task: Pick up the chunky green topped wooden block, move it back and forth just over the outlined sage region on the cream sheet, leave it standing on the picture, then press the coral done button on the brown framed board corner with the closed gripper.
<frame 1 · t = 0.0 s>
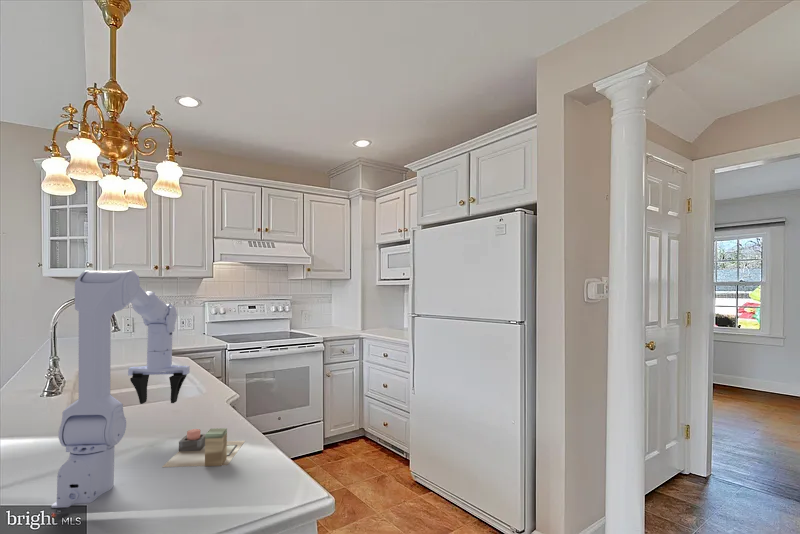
hand: (158, 402, 114), 10 cm above the counter, fingers open, 7 cm apart
done button: (193, 436, 108), point 3 cm above the counter, slide at 0.0 cm
brown framed board: (206, 455, 104), on the counter
green topped wooden block: (215, 462, 98), point 1 cm above the counter, touching brown framed board
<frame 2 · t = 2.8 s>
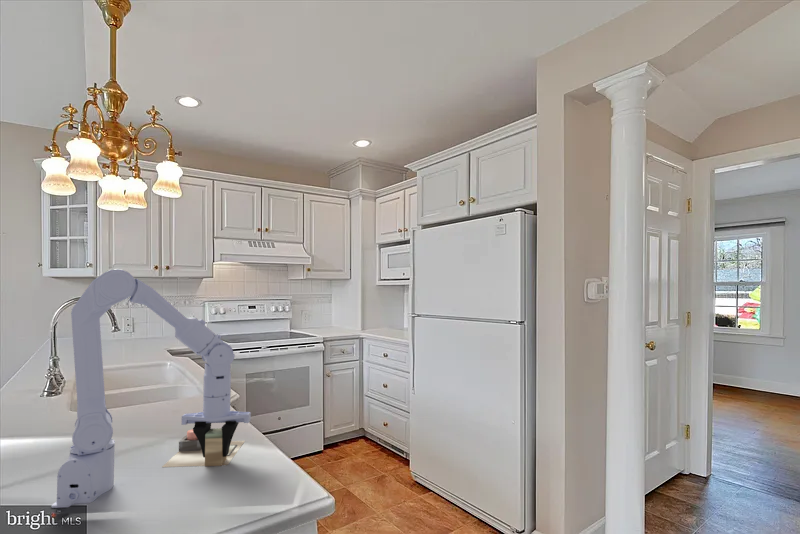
hand: (216, 455, 98), 2 cm above the counter, fingers closed on green topped wooden block, 4 cm apart
green topped wooden block: (215, 462, 98), point 1 cm above the counter, touching brown framed board, gripper
everything else where it was.
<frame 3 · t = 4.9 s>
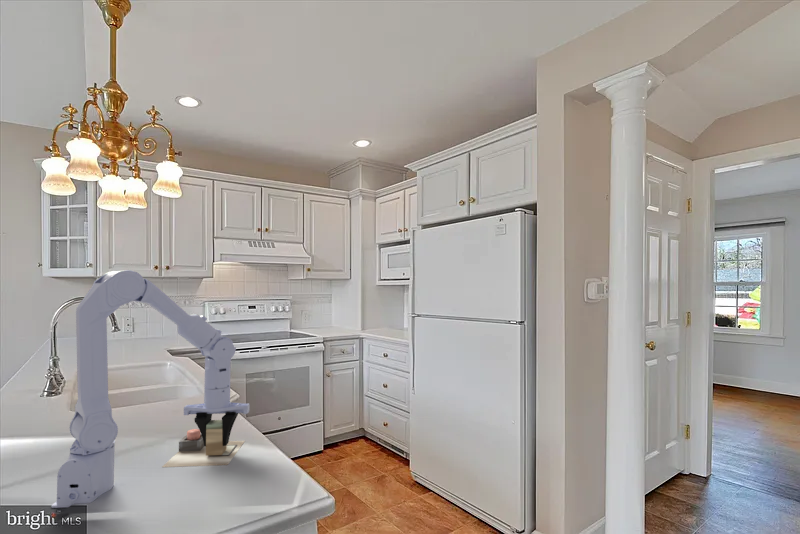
hand: (216, 444, 103), 3 cm above the counter, fingers closed on green topped wooden block, 4 cm apart
green topped wooden block: (216, 452, 103), point 1 cm above the counter, touching gripper
everything else where it was.
when the fingers open (3 cm above the counter, at t = 7.2 s): green topped wooden block stays where it is, resting on brown framed board.
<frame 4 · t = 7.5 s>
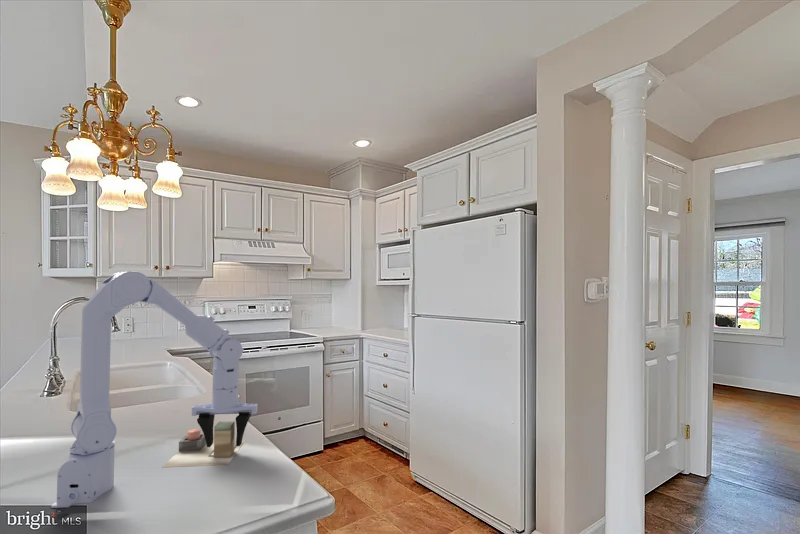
hand: (224, 445, 103), 3 cm above the counter, fingers open, 6 cm apart
green topped wooden block: (224, 454, 103), point 1 cm above the counter, touching brown framed board
everything else where it was.
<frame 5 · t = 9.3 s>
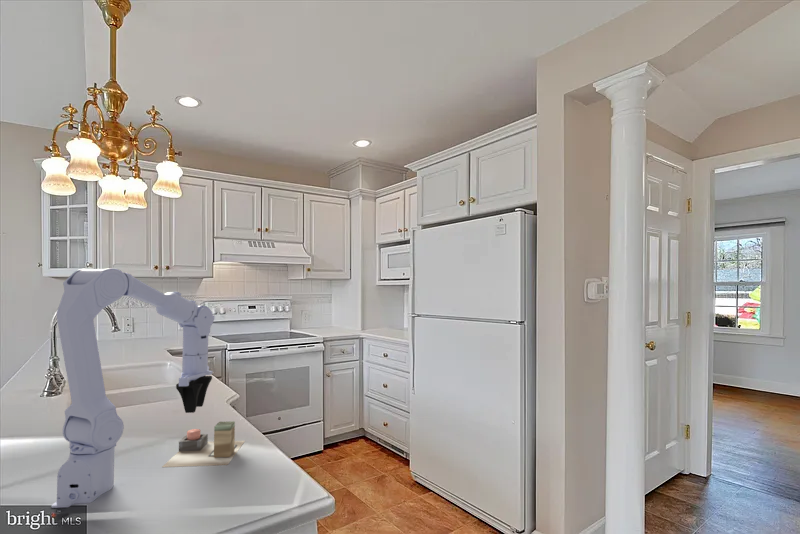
hand: (194, 409, 108), 10 cm above the counter, fingers open, 4 cm apart
nothing on the counter moved.
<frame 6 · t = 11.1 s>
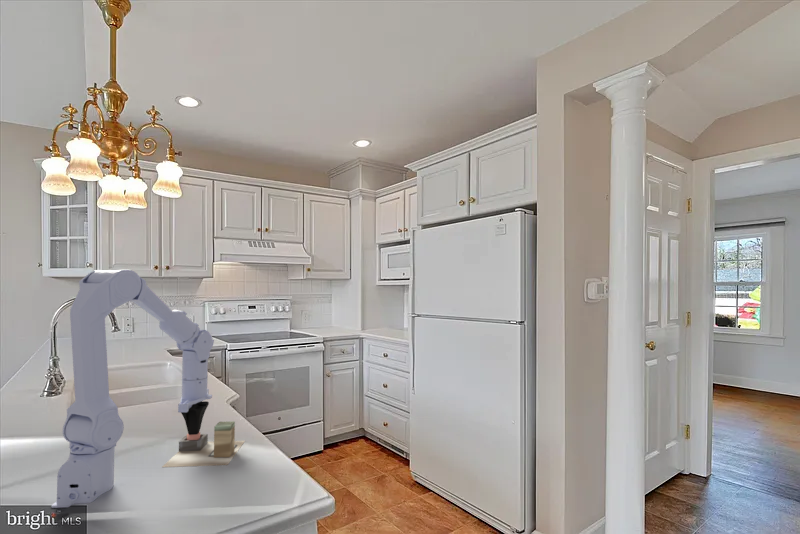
hand: (193, 433, 108), 4 cm above the counter, fingers closed, pressing on done button
done button: (193, 438, 108), point 3 cm above the counter, slide at 0.6 cm, touching gripper
everything else where it was.
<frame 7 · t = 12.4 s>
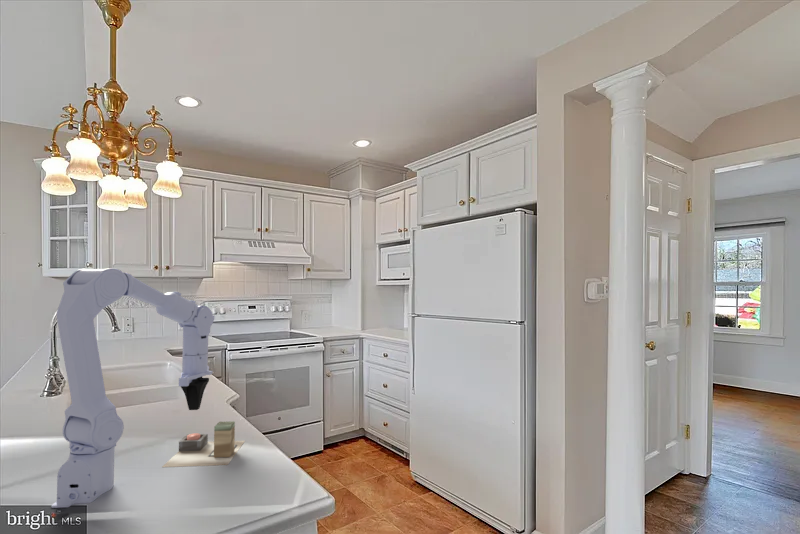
hand: (194, 409, 108), 10 cm above the counter, fingers closed
done button: (193, 440, 108), point 2 cm above the counter, slide at 1.0 cm
everything else where it was.
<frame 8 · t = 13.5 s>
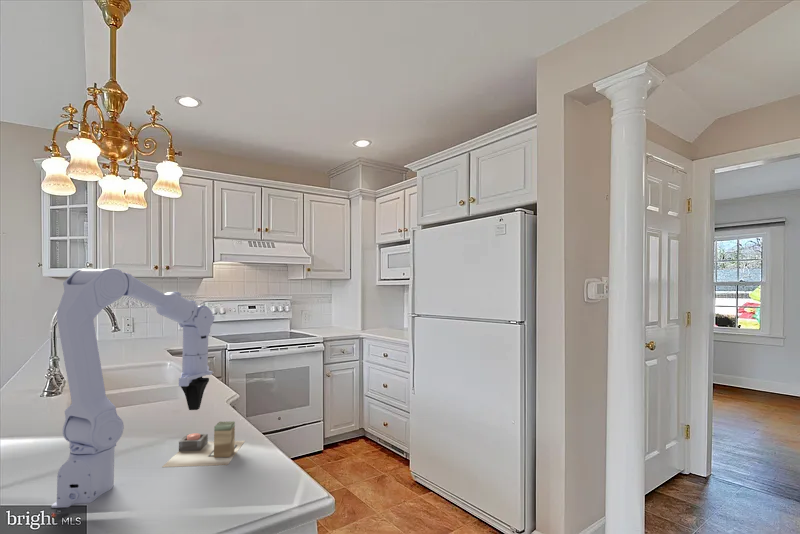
hand: (194, 409, 108), 10 cm above the counter, fingers closed
nothing on the counter moved.
at the end: done button slide at 1.0 cm; green topped wooden block inside the target area on the brown framed board (2.6 cm from its centre), point 0.8 cm above the brown framed board's base; green topped wooden block tilted 0° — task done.
